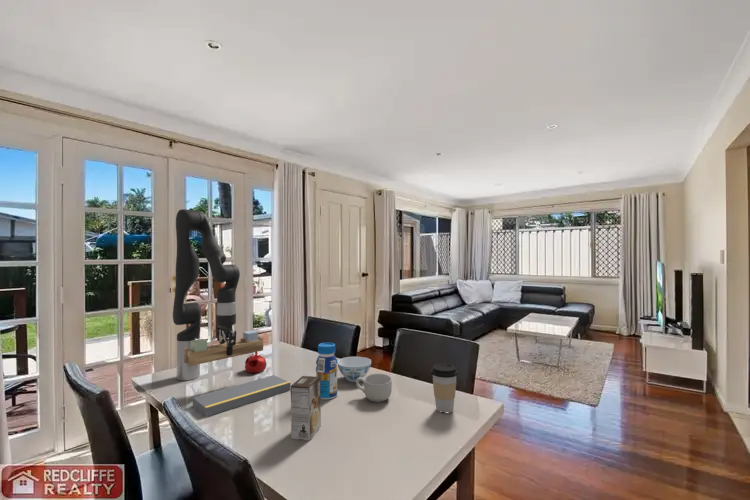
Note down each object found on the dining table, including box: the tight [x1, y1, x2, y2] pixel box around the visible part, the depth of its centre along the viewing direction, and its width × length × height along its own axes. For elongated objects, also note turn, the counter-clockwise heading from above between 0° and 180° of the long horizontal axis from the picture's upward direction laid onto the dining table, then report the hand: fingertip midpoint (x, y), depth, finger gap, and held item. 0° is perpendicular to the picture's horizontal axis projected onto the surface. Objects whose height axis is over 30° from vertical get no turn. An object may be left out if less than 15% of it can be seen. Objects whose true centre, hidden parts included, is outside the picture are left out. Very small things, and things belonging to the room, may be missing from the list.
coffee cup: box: [430, 363, 459, 413], centre depth 126 cm, size 9×9×15 cm
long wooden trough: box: [184, 335, 264, 366], centre depth 147 cm, size 6×30×6 cm, turn 136°
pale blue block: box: [242, 330, 259, 342], centre depth 155 cm, size 5×5×4 cm
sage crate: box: [190, 338, 208, 352], centre depth 139 cm, size 5×5×4 cm
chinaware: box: [336, 356, 372, 383], centre depth 157 cm, size 15×15×8 cm
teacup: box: [355, 373, 393, 403], centre depth 136 cm, size 14×11×8 cm
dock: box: [192, 374, 291, 418], centre depth 138 cm, size 13×33×3 cm, turn 136°
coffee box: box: [290, 375, 322, 441], centre depth 110 cm, size 9×6×16 cm
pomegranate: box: [244, 352, 267, 374], centre depth 169 cm, size 10×10×9 cm
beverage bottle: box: [315, 342, 339, 401], centre depth 139 cm, size 8×8×20 cm
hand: (226, 353), depth 147 cm, fingers closed on long wooden trough, 6 cm apart
